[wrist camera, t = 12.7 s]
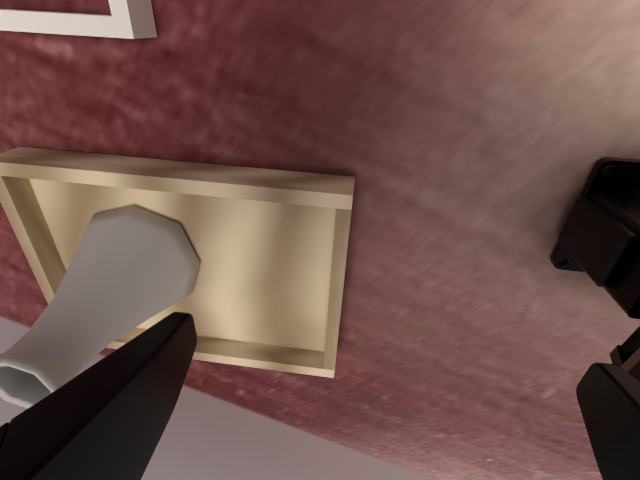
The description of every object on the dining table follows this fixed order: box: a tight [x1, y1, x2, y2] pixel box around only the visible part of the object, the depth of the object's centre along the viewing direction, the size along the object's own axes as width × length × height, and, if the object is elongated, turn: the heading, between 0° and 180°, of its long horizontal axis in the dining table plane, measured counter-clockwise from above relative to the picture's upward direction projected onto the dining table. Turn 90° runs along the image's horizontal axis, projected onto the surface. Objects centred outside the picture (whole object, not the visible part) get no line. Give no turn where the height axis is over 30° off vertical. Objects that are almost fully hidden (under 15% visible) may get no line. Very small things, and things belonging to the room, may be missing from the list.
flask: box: [0, 206, 200, 408], centre depth 19 cm, size 7×7×10 cm
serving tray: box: [0, 147, 355, 378], centre depth 23 cm, size 20×14×2 cm
